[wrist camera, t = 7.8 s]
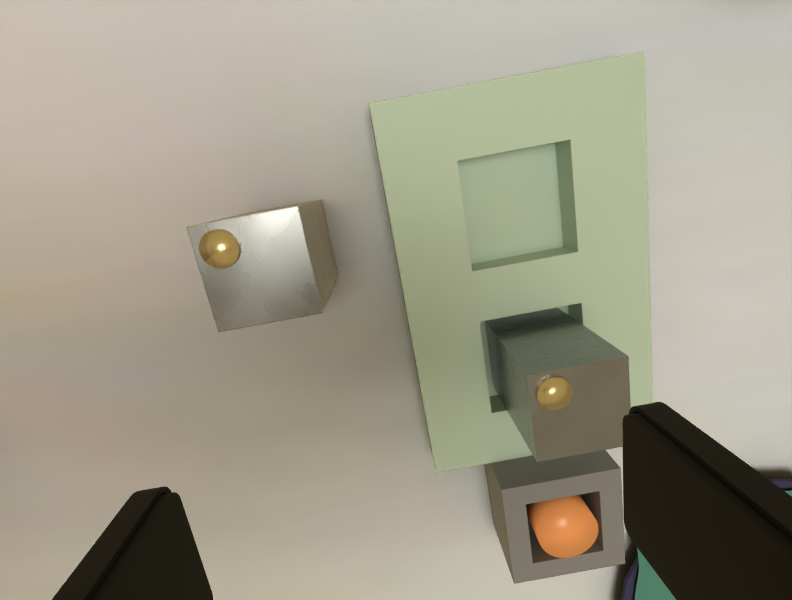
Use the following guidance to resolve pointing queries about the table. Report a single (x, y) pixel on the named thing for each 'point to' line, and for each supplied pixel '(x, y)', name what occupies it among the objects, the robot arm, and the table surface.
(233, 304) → the knobbed taupe block
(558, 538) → the button
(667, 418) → the robot arm
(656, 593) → the green-topped navy dish
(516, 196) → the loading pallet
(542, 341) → the seated billet
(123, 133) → the table surface
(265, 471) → the table surface
